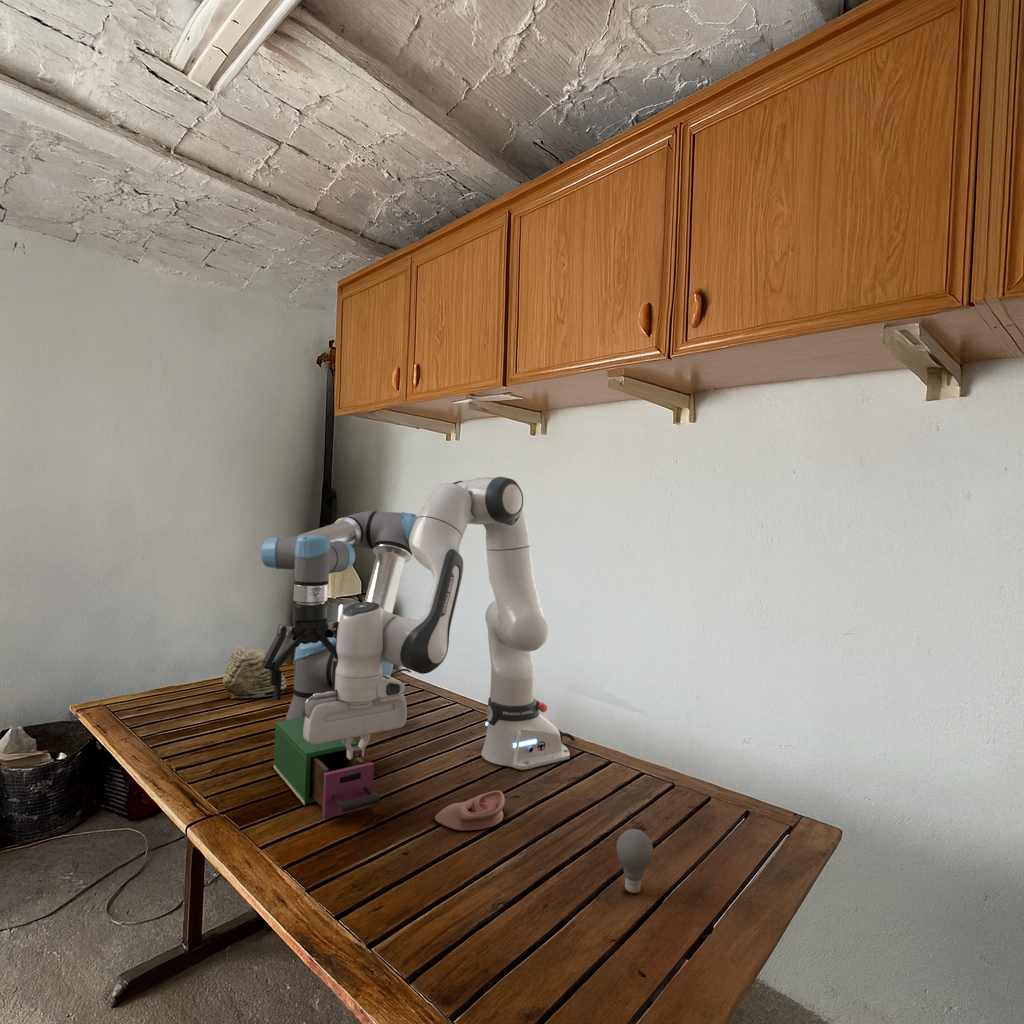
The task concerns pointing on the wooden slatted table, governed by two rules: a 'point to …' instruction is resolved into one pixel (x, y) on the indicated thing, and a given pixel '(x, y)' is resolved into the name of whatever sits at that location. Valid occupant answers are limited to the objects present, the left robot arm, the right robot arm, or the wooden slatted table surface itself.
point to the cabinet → (299, 756)
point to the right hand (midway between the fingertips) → (355, 757)
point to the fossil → (248, 674)
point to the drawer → (341, 783)
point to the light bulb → (634, 857)
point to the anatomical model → (474, 812)
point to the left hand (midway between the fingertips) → (307, 694)
